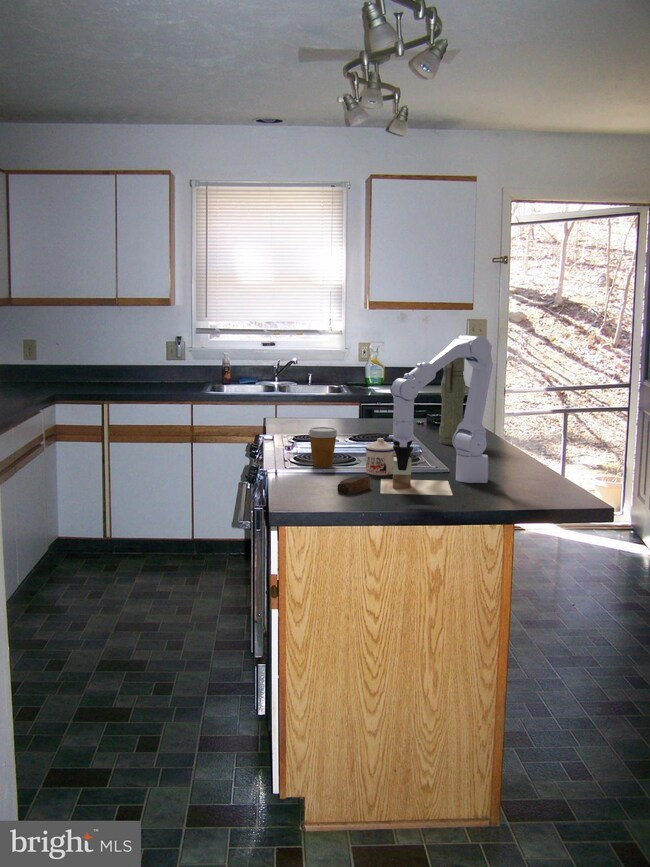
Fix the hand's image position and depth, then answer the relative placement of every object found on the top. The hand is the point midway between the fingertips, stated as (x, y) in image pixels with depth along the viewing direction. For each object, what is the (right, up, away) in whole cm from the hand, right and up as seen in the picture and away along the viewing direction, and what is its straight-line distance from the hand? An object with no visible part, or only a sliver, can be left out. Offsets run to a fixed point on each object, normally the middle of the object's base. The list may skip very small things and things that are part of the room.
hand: (402, 467), depth 250 cm
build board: (+4, -7, +1) cm, 8 cm away
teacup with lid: (-4, -4, +19) cm, 20 cm away
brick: (-14, -8, -5) cm, 17 cm away
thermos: (+25, +6, +77) cm, 81 cm away
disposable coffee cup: (-23, -1, +33) cm, 40 cm away
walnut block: (0, -6, +1) cm, 6 cm away
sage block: (0, -2, 0) cm, 2 cm away
